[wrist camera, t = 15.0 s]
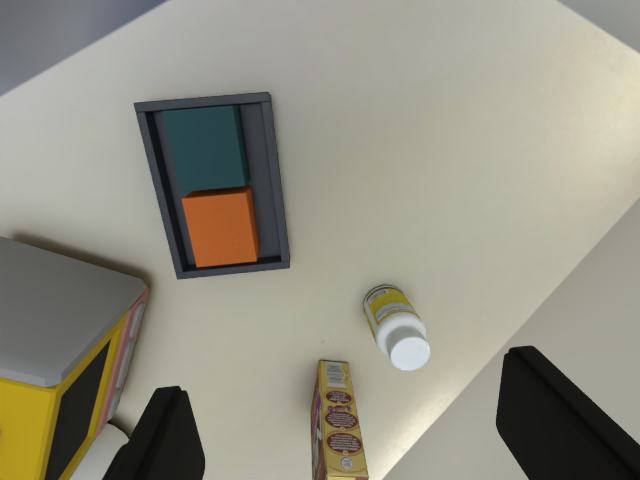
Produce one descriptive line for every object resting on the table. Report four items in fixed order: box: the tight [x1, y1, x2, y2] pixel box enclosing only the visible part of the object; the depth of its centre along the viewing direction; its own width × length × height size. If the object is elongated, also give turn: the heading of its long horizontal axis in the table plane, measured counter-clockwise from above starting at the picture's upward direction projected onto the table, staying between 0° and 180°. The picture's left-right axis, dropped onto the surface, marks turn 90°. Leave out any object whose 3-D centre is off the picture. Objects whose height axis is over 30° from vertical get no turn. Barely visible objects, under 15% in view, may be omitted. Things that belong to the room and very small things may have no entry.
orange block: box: [182, 186, 260, 267], centre depth 34 cm, size 7×6×4 cm
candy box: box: [311, 361, 369, 480], centre depth 38 cm, size 9×4×15 cm, turn 172°
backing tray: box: [134, 92, 290, 279], centre depth 34 cm, size 18×12×3 cm
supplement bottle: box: [364, 286, 430, 371], centre depth 37 cm, size 5×5×10 cm
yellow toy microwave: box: [0, 236, 150, 480], centre depth 31 cm, size 20×16×18 cm
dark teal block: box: [162, 105, 250, 192], centre depth 32 cm, size 7×6×4 cm
